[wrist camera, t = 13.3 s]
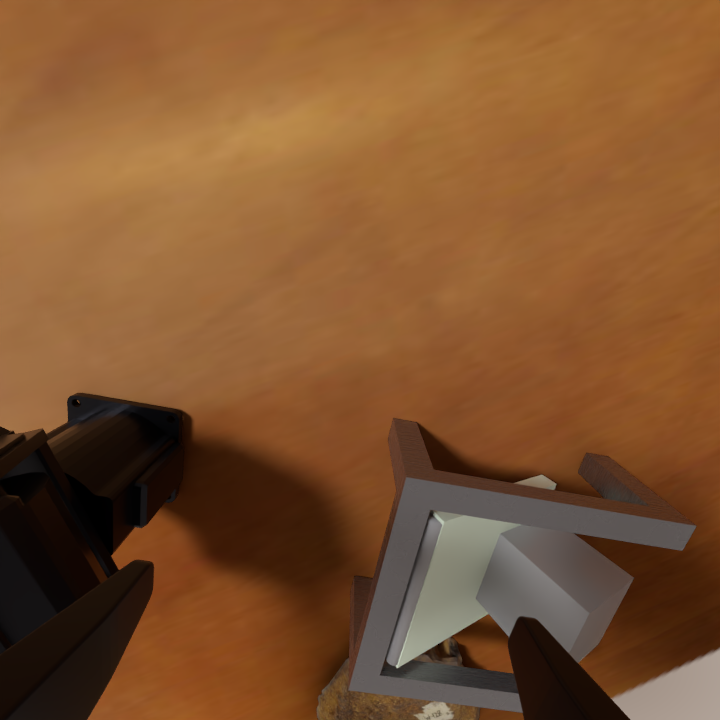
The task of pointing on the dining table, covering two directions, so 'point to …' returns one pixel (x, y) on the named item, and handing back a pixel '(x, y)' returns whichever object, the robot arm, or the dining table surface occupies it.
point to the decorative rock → (391, 713)
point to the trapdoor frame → (495, 502)
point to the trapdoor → (447, 579)
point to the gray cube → (553, 586)
